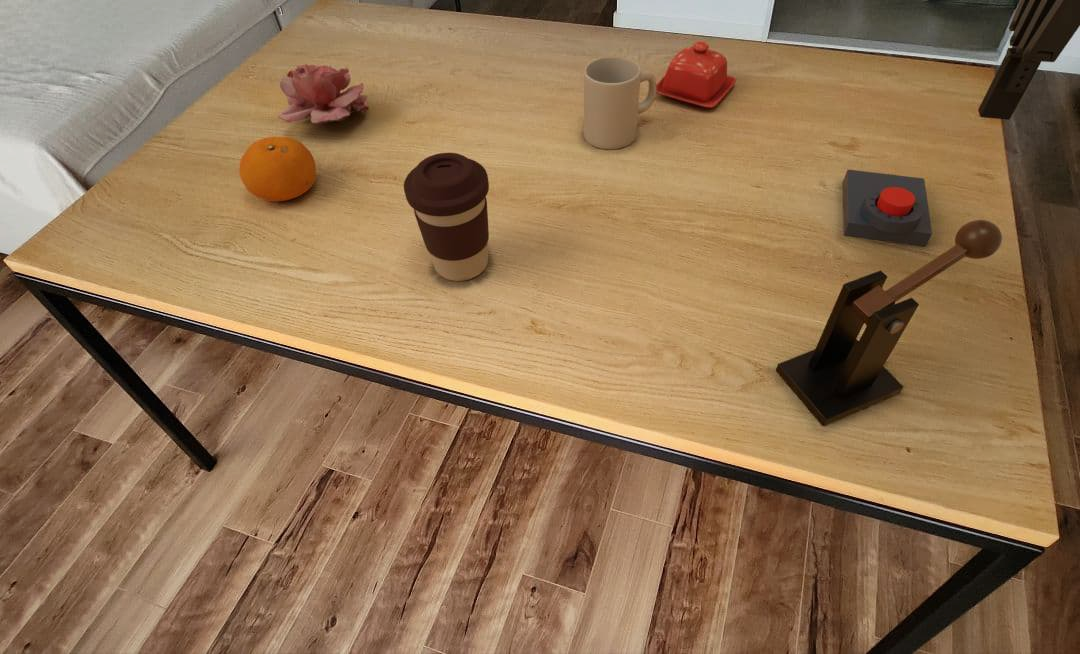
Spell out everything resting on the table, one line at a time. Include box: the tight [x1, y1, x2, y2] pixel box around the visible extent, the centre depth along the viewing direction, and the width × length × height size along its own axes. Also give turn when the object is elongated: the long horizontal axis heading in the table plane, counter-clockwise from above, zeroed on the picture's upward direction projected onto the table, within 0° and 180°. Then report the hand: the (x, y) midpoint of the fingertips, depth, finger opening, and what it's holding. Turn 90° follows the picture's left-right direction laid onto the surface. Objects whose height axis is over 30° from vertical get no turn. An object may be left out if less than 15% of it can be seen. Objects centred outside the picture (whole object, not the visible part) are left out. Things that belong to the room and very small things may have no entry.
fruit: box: [238, 136, 317, 202], centre depth 95 cm, size 10×10×8 cm
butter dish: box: [656, 40, 737, 109], centre depth 108 cm, size 12×12×8 cm
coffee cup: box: [403, 152, 490, 282], centre depth 80 cm, size 10×10×15 cm
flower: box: [278, 63, 370, 124], centre depth 107 cm, size 15×15×10 cm
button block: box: [842, 168, 933, 247], centre depth 86 cm, size 13×10×4 cm
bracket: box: [775, 270, 920, 427], centre depth 65 cm, size 10×8×14 cm
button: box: [877, 187, 915, 217], centre depth 82 cm, size 4×4×2 cm
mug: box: [582, 56, 657, 150], centre depth 100 cm, size 12×8×11 cm
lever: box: [853, 219, 1003, 326], centre depth 60 cm, size 14×4×4 cm, turn 113°
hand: (993, 114), depth 66 cm, fingers closed
